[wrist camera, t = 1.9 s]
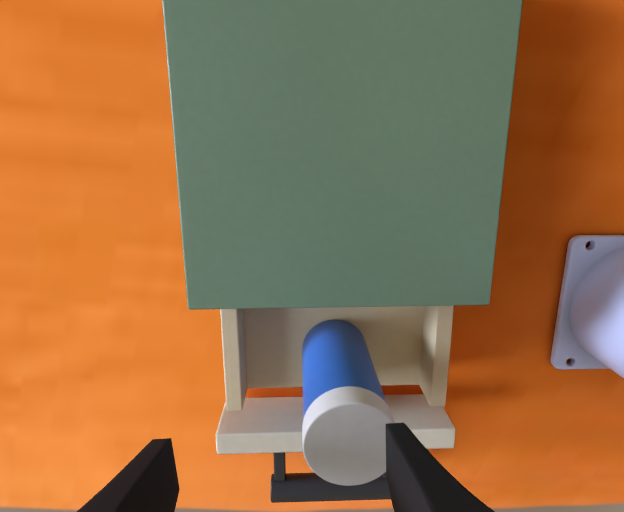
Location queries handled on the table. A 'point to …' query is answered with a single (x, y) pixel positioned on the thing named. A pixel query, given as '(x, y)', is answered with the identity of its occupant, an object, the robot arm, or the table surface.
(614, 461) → the table surface
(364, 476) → the medicine bottle
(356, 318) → the drawer
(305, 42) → the cabinet
